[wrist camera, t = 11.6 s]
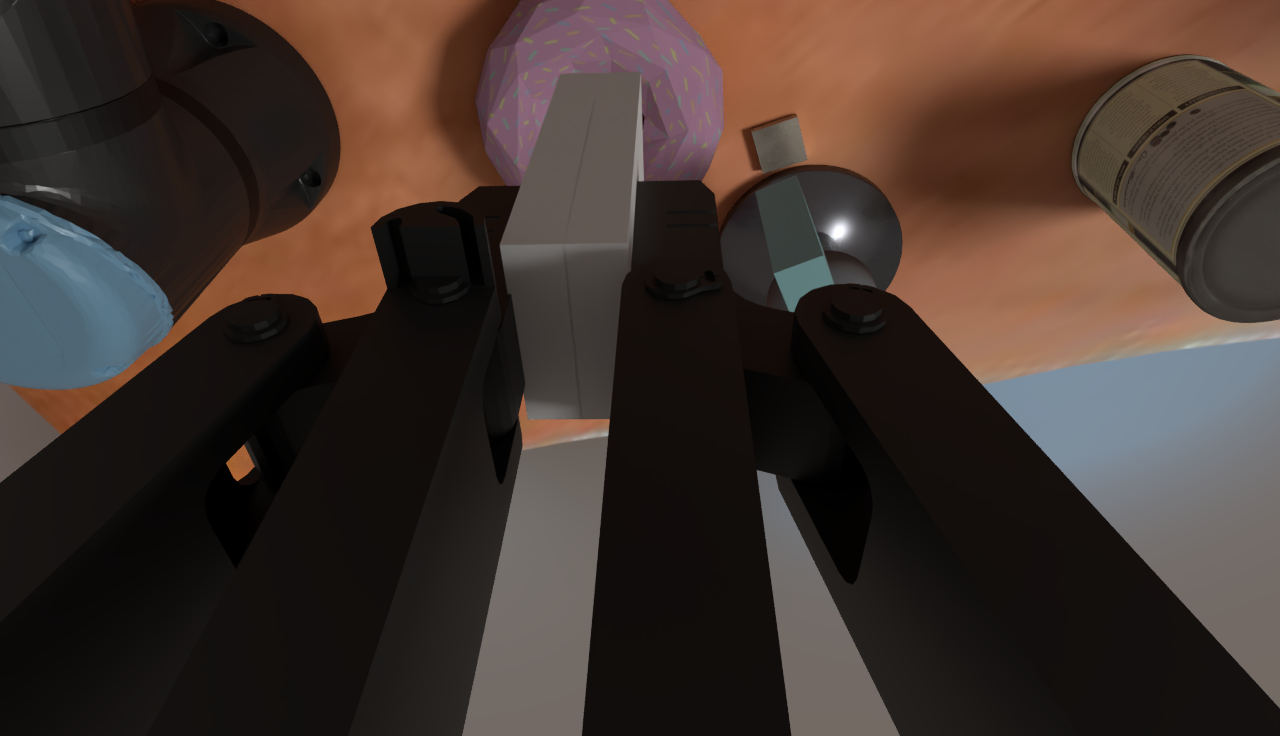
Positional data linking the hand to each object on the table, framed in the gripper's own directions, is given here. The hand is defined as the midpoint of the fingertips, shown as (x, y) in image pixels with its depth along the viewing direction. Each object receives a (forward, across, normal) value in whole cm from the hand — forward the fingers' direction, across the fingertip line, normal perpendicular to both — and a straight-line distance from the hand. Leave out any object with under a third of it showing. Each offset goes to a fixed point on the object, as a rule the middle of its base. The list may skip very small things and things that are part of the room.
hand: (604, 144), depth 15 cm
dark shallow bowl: (+34, -11, +20) cm, 41 cm away
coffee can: (+35, -33, +14) cm, 50 cm away
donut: (+35, +3, +11) cm, 37 cm away
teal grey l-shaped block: (+28, -10, +19) cm, 35 cm away
